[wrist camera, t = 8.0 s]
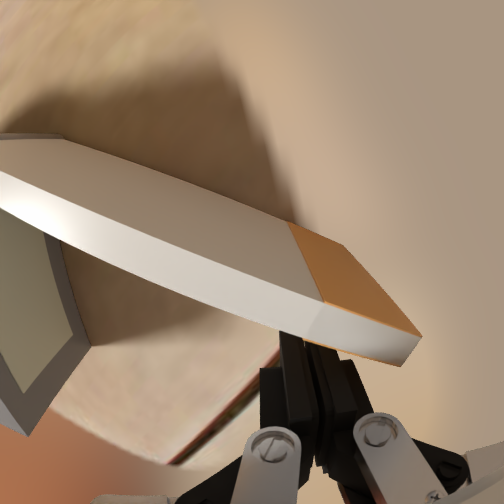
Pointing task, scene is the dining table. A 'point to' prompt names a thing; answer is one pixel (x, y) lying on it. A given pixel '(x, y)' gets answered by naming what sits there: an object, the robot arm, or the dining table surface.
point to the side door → (202, 245)
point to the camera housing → (34, 323)
